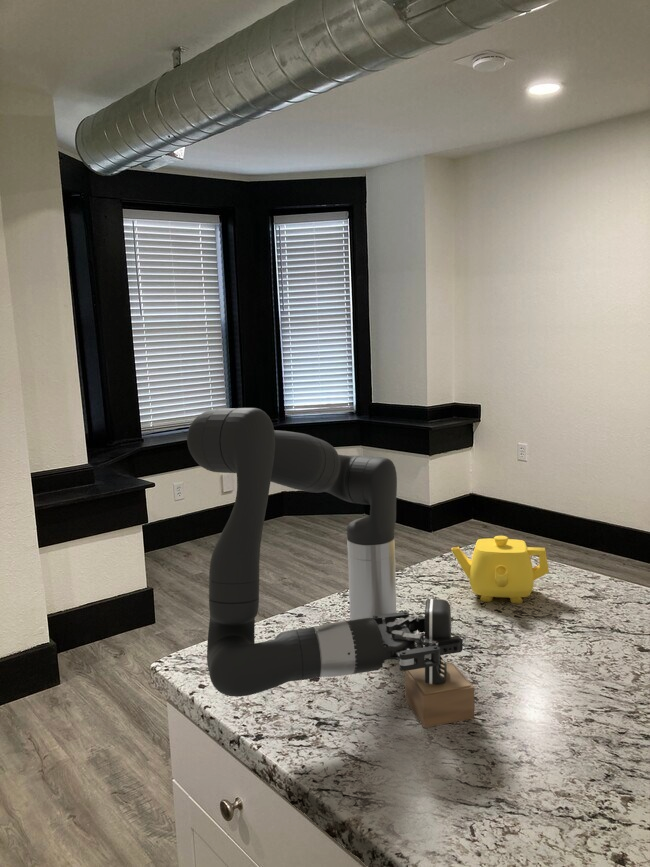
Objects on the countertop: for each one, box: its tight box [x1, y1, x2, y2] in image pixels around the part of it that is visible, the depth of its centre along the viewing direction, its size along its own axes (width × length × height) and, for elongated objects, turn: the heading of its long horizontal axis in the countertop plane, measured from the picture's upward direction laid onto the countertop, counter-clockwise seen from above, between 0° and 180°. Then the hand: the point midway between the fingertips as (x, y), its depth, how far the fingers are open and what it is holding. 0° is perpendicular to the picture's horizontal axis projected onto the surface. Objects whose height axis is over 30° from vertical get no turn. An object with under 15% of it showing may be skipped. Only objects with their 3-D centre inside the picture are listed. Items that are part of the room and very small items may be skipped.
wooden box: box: [404, 662, 475, 728], centre depth 108 cm, size 8×8×5 cm
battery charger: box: [424, 598, 452, 684], centre depth 106 cm, size 7×4×11 cm, turn 170°
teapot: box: [451, 535, 550, 604], centre depth 148 cm, size 20×19×13 cm
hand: (450, 632), depth 107 cm, fingers closed on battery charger, 7 cm apart
